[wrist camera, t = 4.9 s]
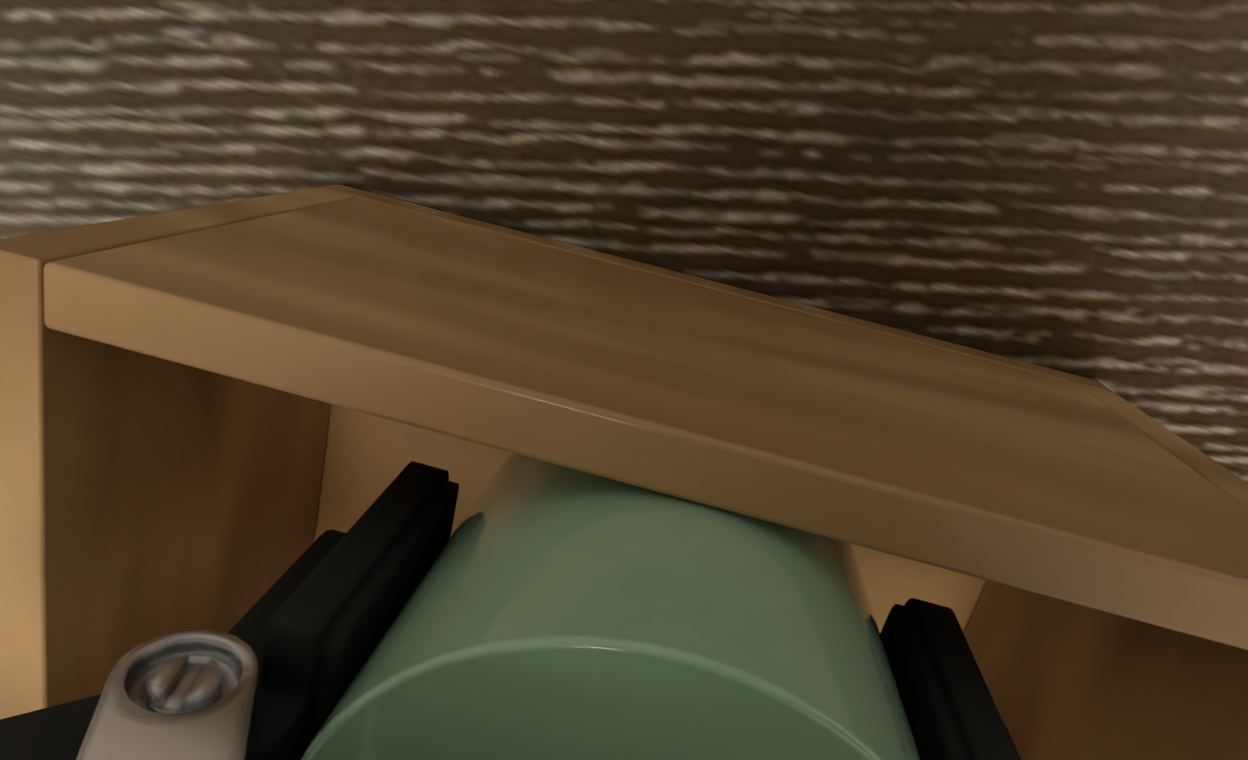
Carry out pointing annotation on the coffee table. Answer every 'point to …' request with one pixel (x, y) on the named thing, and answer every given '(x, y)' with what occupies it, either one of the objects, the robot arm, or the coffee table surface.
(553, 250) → the chest
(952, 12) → the coffee table surface
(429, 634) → the sage green cylinder
